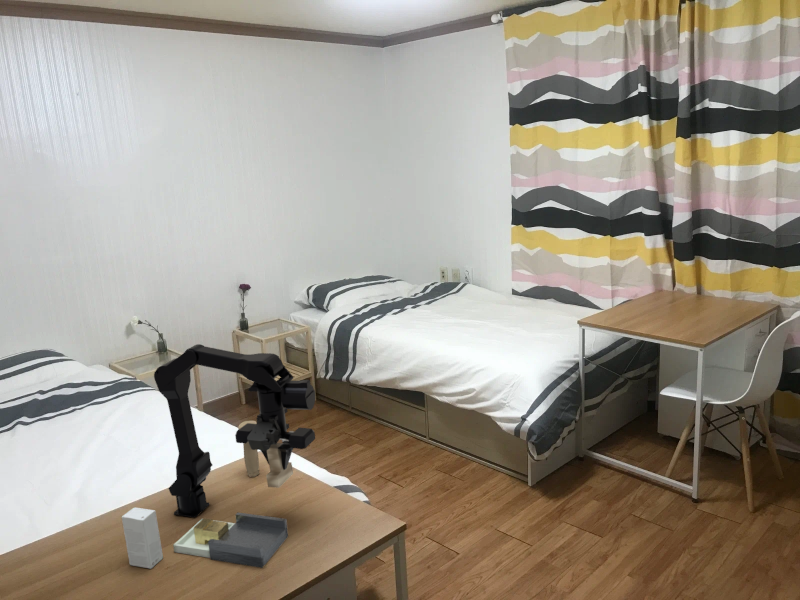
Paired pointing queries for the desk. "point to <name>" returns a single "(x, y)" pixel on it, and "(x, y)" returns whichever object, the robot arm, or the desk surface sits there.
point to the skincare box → (142, 537)
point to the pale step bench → (277, 467)
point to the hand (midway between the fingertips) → (278, 468)
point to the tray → (193, 544)
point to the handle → (250, 455)
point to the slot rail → (250, 540)
